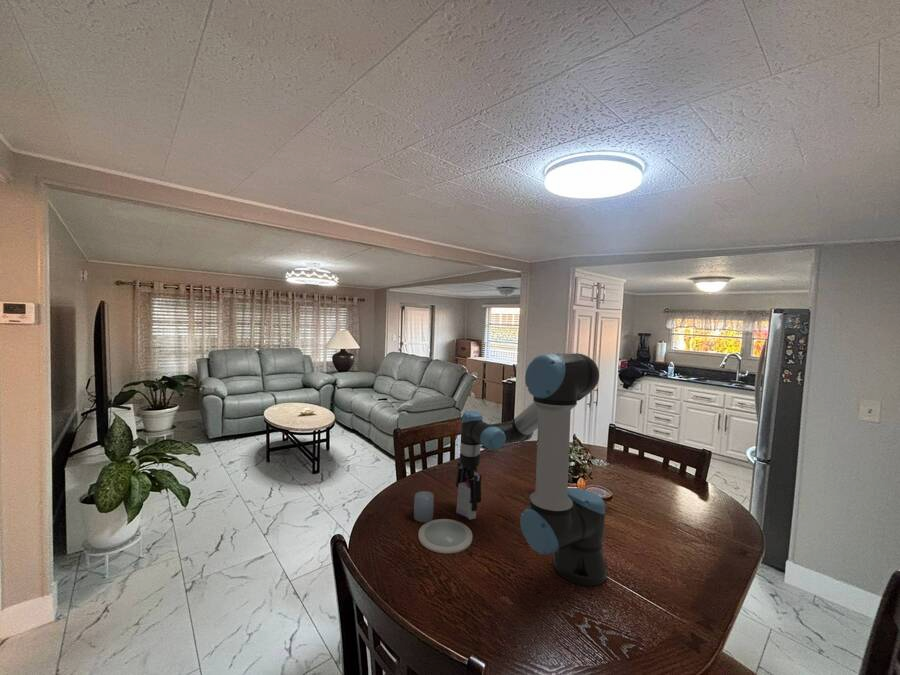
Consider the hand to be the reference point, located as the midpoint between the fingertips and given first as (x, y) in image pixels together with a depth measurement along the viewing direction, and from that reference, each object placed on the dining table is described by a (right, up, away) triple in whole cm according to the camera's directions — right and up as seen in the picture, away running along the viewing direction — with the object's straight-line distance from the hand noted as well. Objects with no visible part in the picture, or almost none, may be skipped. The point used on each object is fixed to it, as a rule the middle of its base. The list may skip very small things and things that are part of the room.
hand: (466, 512), depth 140 cm
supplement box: (0, 0, 0) cm, 0 cm away
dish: (-8, -1, -15) cm, 17 cm away
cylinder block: (-16, 0, -4) cm, 16 cm away
